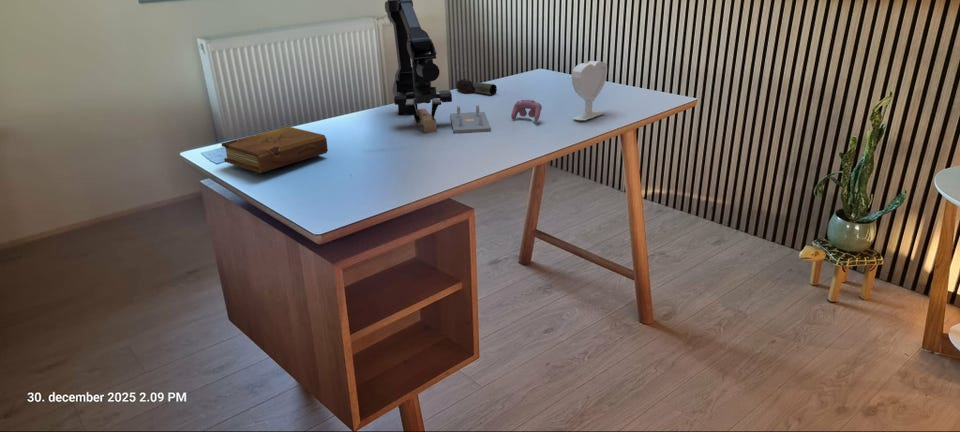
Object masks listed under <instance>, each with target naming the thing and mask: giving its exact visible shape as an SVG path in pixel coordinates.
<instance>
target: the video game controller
mask: <svg viewBox="0 0 960 432" xmlns="http://www.w3.org/2000/svg"><path fill="white" fill-rule="evenodd" d="M526 109H527V110H528V109H529V111H528V112H527V110H526ZM542 109H543V108H542V105H541V103H539V102H538V101H535V100H533V99H521V100H517V102H515V103H514V105H513V108H512V112H511V115H510V116H511V119H512V120H515V119H516V117H518V113H519V115H520V117H526V116H527V115H528V117H529V118H534V121H535V122H537V121H538V120H539V119H540V117H541V113H542Z"/></svg>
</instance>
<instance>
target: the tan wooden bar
mask: <svg viewBox="0 0 960 432" xmlns="http://www.w3.org/2000/svg"><path fill="white" fill-rule="evenodd" d="M416 111H417V116H418V124H417V122H416V120H415V117H414V116H413V121H414V122H415V124H416V125H417V126H418V127H419V128H420V129H421V131H422V133H423V132H424V134H425V133H436V132H437V119H436V118H435V116H434V117H433V116H432V115H431V112H429V111H428V110H427V109H426V108H418V110H416Z"/></svg>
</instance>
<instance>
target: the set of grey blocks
mask: <svg viewBox="0 0 960 432" xmlns="http://www.w3.org/2000/svg"><path fill="white" fill-rule="evenodd" d="M475 112H476V117H479V125H483V123H482V113H479V112H480V105H478V104H477V105H475ZM456 113H457V117H458V118H459V126H463V121H462V114H460V113H461V107H460V106H459V105H458V106H456Z"/></svg>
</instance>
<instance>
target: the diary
mask: <svg viewBox="0 0 960 432" xmlns="http://www.w3.org/2000/svg"><path fill="white" fill-rule="evenodd" d="M221 147H222V148H225V153H226V154H225V155H226V157H225V158H223V160H224V163H228V164H231V165H233V166H236V167H240V168H243V169H246V170H250V171H252V172H255V173H259V174H263V173H264V172H269V171H272V170H275V169H278V168H281V167H284V166H288V165H292V164H295V163H298V162H301V161H305V160H308V159H311V158H314V157H317V156H321V155H323V154H327V153H328V151H329V150H328V140H327V137H326V136H325V135H324V134H321V133H318V132H314V131H309V130H305V129H300V128H296V127H293V126H289V125H287V126H283V127H280V128H277V129H273V130H269V131H264V132H259V133H257V134H253V135H248V136H245V137H241V138H237V139H234V140H233V139H232V140H229V141H225V142H221Z"/></svg>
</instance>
